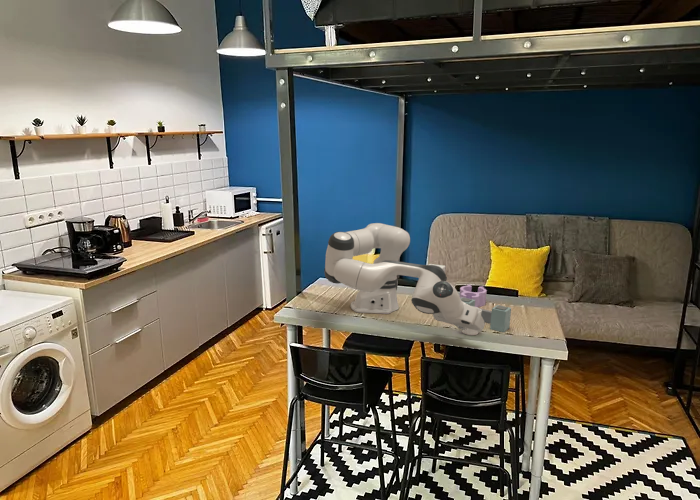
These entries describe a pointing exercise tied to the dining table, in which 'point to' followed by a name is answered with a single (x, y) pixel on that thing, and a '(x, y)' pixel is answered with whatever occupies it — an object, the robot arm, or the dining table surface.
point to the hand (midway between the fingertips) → (462, 327)
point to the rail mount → (494, 316)
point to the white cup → (470, 331)
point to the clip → (474, 295)
